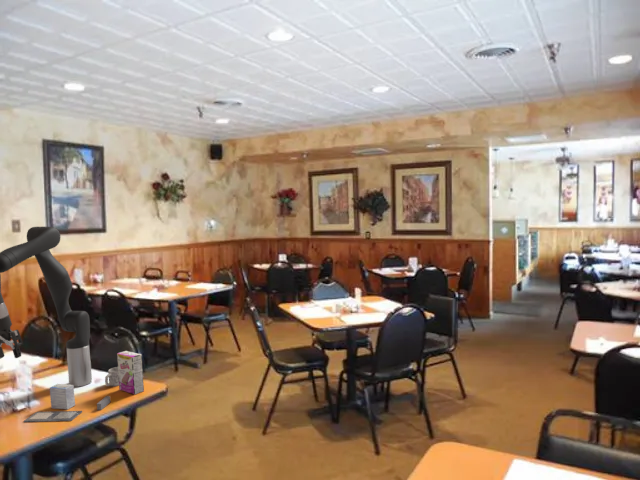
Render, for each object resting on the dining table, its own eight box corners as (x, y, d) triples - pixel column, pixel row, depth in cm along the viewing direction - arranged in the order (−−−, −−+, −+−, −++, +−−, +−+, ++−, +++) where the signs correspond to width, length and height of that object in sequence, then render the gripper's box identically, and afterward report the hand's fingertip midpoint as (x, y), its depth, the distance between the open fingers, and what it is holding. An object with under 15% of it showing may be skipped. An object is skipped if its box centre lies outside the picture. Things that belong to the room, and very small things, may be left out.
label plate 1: (36, 413, 193) (36, 411, 193) (59, 412, 192) (59, 411, 192) (23, 422, 185) (23, 420, 185) (47, 421, 184) (47, 419, 184)
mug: (116, 380, 227) (115, 366, 227) (128, 381, 225) (127, 367, 225) (100, 388, 218) (99, 373, 218) (112, 389, 216) (111, 374, 215)
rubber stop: (106, 402, 201) (106, 396, 201) (110, 402, 201) (110, 396, 201) (97, 410, 193) (96, 403, 193) (101, 410, 193) (100, 403, 193)
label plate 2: (59, 412, 192) (59, 411, 192) (82, 412, 192) (82, 410, 192) (47, 421, 184) (47, 419, 184) (71, 420, 184) (71, 419, 184)
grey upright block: (75, 405, 199) (74, 384, 198) (67, 410, 195) (65, 388, 194) (59, 404, 201) (58, 383, 201) (50, 408, 197) (49, 387, 196)
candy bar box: (118, 390, 214) (116, 353, 213) (128, 386, 218) (126, 350, 217) (134, 395, 208) (132, 356, 207) (144, 391, 212) (142, 353, 211)
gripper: (20, 311, 181) (32, 352, 184) (-9, 313, 186) (4, 353, 189) (1, 319, 174) (15, 362, 177) (-27, 321, 179) (-14, 362, 182)
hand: (9, 357), depth 183 cm, fingers open, 8 cm apart
